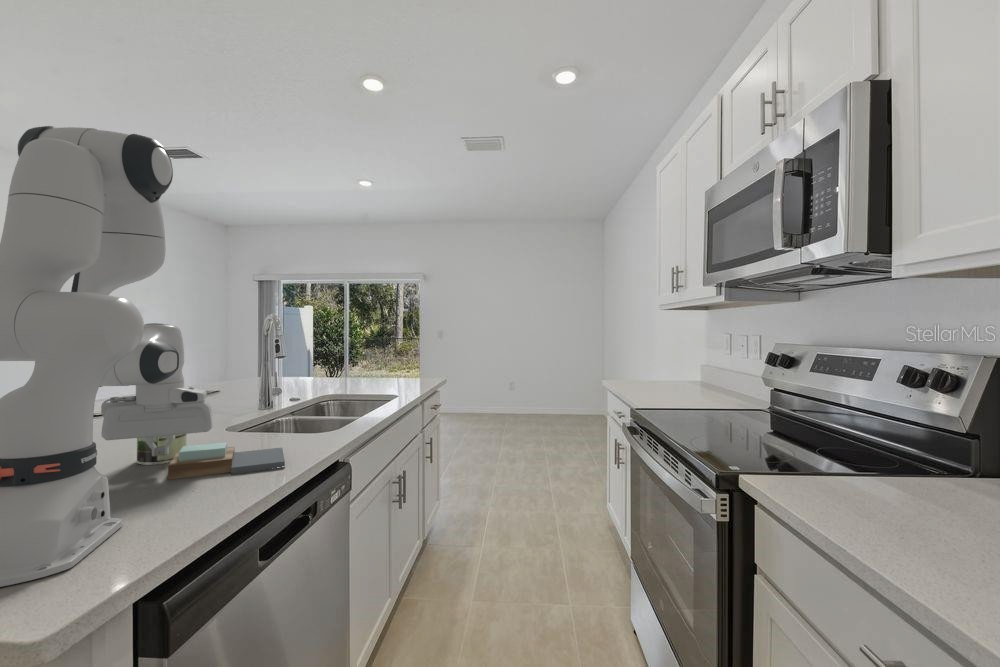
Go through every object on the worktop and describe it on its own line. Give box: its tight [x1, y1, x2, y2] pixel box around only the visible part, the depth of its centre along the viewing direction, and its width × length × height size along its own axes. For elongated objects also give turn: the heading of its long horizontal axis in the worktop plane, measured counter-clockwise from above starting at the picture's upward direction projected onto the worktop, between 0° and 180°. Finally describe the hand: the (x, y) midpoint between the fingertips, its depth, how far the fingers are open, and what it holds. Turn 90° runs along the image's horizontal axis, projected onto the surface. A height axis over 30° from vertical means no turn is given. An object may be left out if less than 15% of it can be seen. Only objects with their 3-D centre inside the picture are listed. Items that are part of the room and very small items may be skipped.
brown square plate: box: [167, 446, 236, 480], centre depth 106 cm, size 12×12×3 cm
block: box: [179, 441, 228, 461], centre depth 106 cm, size 6×9×2 cm, turn 118°
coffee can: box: [135, 434, 188, 466], centre depth 113 cm, size 10×10×14 cm
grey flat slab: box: [230, 447, 286, 475], centre depth 111 cm, size 14×11×2 cm
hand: (160, 455), depth 102 cm, fingers closed
